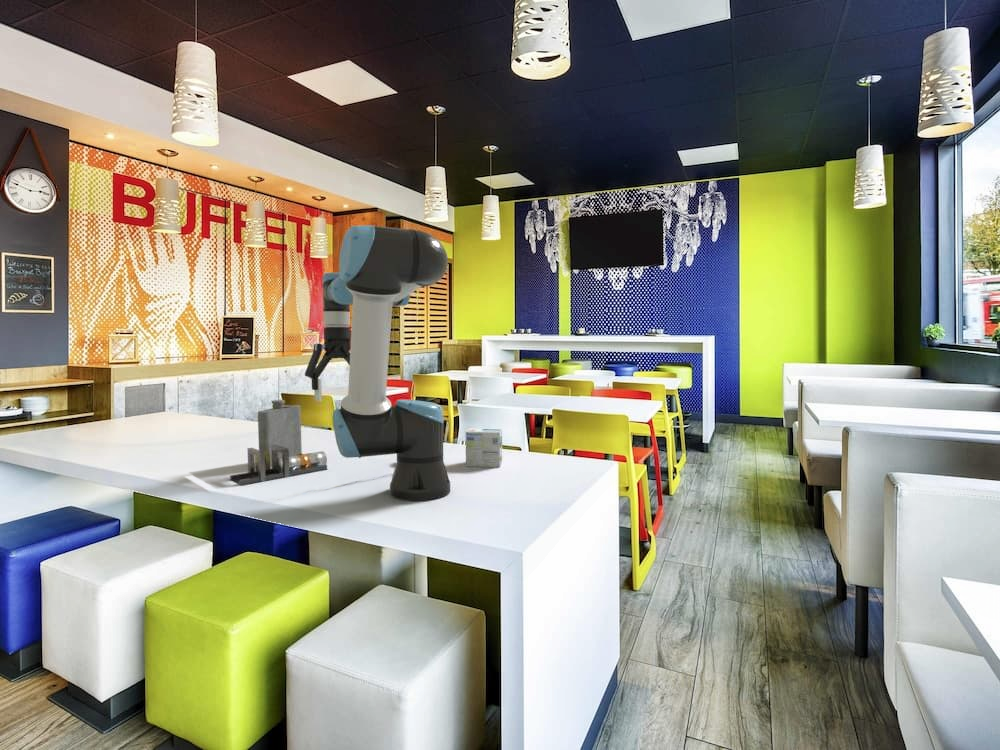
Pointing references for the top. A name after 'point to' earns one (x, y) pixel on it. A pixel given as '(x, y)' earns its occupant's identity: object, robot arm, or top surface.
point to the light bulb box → (484, 447)
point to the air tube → (303, 461)
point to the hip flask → (280, 428)
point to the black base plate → (272, 475)
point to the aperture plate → (267, 461)
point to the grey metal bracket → (261, 461)
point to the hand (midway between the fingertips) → (338, 399)
